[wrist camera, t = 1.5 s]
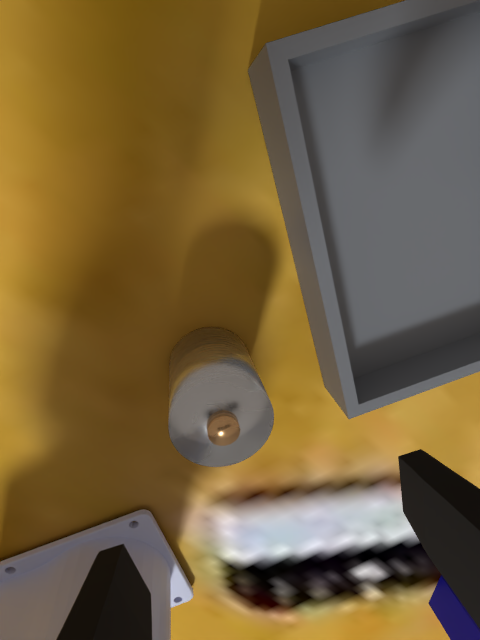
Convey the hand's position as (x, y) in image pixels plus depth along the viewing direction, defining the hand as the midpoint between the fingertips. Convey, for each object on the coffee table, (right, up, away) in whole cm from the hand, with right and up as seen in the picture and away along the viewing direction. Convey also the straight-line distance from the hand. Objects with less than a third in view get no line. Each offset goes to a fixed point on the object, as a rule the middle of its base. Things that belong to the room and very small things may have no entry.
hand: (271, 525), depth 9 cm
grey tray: (+7, +10, +8) cm, 15 cm away
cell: (-2, +3, +9) cm, 10 cm away
